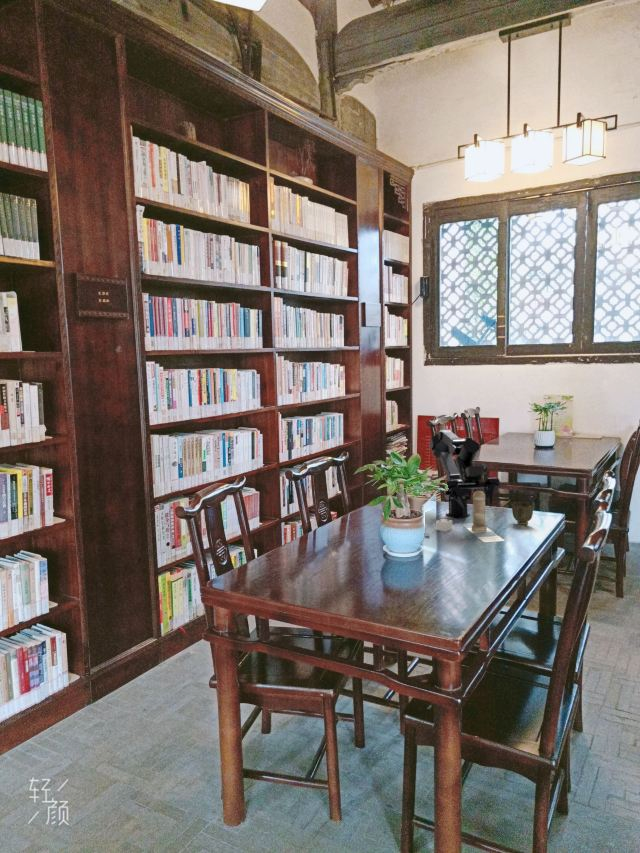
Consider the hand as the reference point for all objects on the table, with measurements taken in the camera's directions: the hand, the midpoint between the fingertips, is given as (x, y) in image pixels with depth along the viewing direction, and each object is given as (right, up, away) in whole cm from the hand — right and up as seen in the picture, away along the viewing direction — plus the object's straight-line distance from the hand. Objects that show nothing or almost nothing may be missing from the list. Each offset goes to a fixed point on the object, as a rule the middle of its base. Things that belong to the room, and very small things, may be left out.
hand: (477, 507), depth 206 cm
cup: (+17, -7, +6) cm, 20 cm away
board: (+1, -9, -3) cm, 9 cm away
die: (-11, -9, +2) cm, 14 cm away
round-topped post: (0, -8, 0) cm, 8 cm away
